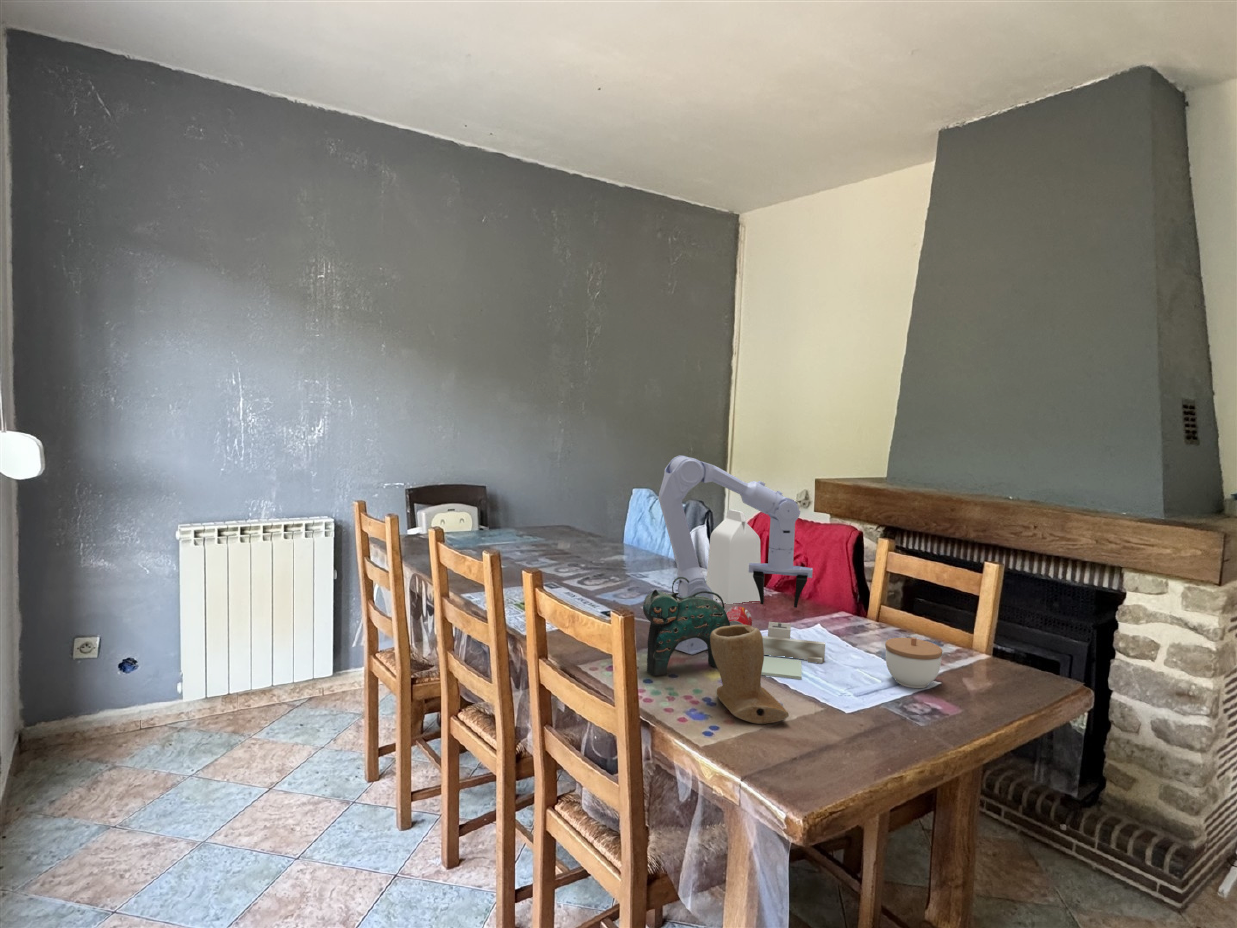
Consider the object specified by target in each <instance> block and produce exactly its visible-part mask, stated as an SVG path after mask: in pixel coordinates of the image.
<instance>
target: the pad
mask: <svg viewBox="0 0 1237 928" xmlns="http://www.w3.org/2000/svg"><path fill="white" fill-rule="evenodd" d="M761 676H768V677H775V678H776V677H777V678H783V679H784V678H785V679H793V680H802V678H803V677H802V660H799V659H790V658H781V657H772V656H764V661H763V667H762V672H761Z"/></svg>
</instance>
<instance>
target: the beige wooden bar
mask: <svg viewBox="0 0 1237 928" xmlns="http://www.w3.org/2000/svg"><path fill="white" fill-rule="evenodd" d="M762 638H763V647H764V655H771V656H770V657H772V656H785V657H793V658H799V659H804V660H803V661H807V663H809V662H817V663H816V664H819V663H822V664H823V663H825V658H826V657H825V656H826V642H825V641H815V640H807V639H806V640H804V639H796V638H795V639H794V638H790V639H788V638H778V637H768V635H762ZM799 659H798V660H799Z"/></svg>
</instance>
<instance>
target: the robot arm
mask: <svg viewBox="0 0 1237 928" xmlns="http://www.w3.org/2000/svg"><path fill="white" fill-rule="evenodd" d="M700 482H701V483H704V484H707V483H708V484H709V483H711V482H712V483H715V484H716V485H719V486H721V487H723V488H726V489H727V490H729V491H731V492H734V493H735V494H737V495H740V498H741V501H742V503H743V504H745V505H747V506H748V507H751V508H753V509H755V510H757V511H758V512H759V511H760V512H761V513H762V514H765V515H767V516H768V517H770V523H769V540H768V558H767V559H768V561H767V562H768V563H765V562H764V563H762V562H761V563H749V573H753V578H754V581H755V583H756V586H757V589H758V592H759V596H760V602H759V603H760V605H764V603H765V576H766V575H765V574H769V575H770V574H771V575H782V576H791V577H792V576H793V577H796V578H795V593H794V594H795V595H794V600H793V601H794V602H793V608H794V609H795V608H797V609H798V605H799V603H798V602H799V600H800V596H801V595H802V591H803V589H804V588H805V586H806V584H807V582H808V578H809V579H812V578H813V567H806V566H799V565H794V555H795V554H794V553H795V535H796V533H795V531H796V521H797V520H798V519H799V517H800V514H801V509H799V508H800V507H799V505H798V504H797V502H796V501H795V499H793V498H790V497H786V496H783V492H782V491H780V490H776V491H775V490H774V489H771V488H770V487H767V486H765V485H766V483H765V482H764V481H761V480H758V481H756V480H753V481H752V480H751V481H750V482H746V481H743V480H741V479H739V477H736V476H734V475H733V474H730V473H729V472H727V471H726V470H723V469H722V468H721V467H718V466H716V465H714V464H711V463H708V462H704V461H701V460H699V459H697V458H693V457H688V456H687V455H682V454H681V455H677V456H675V457H673V458H672V459H671V460H670V461H669V463H668V464H667V465H666V466H665V468H664V473H663V479H662V481H661V486H660V488H659V493H658V501H659V506H660V509H661V513H662V516H663V519H664V522H665V523H664V524H665V527H666V530H667V534H668V538H669V541H670V545H671V549H672V552H673V556H674V559H675V565H676V566H677V578H678V577H685V578H687V579H688V580H689V583H688V582H687V581H686V580H685V579H678V583H677V584H678V585H677V593H679V594H678V595H679V597H684V596H690V595H693V594H695V593H697V592H700V591H710V592H712V590H711V589H710V588H709V587H708V585H707V584H706V579H705V578H706V577H705V576H704V574H703V571H702V570H701V567H700V564H699V560H698V557H697V553H696V550H695V546H694V541H693V538H692V535H691V531H690V528H689V524H688V520H687V517H686V512H685V509H684V506H683V500H684V499H685V498H686V496H687V495H688V493H689V491H692V489H693V488H694V487H696V486H697V485H698V484H699V483H700ZM697 595H698V596H704V597H708V598H710V599H712V600H714V599H713V594H708V593H700V594H697ZM674 650H676V651H680V652H681V653H682V652H683V653H685V654H688V655H695V654H698V653H700V652H703V651H707V650H708V648H707V644H706V643H705V642H704V641H703V640H701V639H699V638H691V639H688V640H685V641H682V642H680V643H679V644H678V645H677V647H676V648H675V649H674Z"/></svg>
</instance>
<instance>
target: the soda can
mask: <svg viewBox="0 0 1237 928" xmlns="http://www.w3.org/2000/svg"><path fill="white" fill-rule="evenodd" d="M725 612H726V614H727V617H728V620H729V622H730V626H731V625H749V626H752V627H753V619H752V615H751V612H750V611H749V610H748V609H746V608H745V607H742V606H737V605H736V606H732V607H730V608H729V609H727V611H725Z"/></svg>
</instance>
